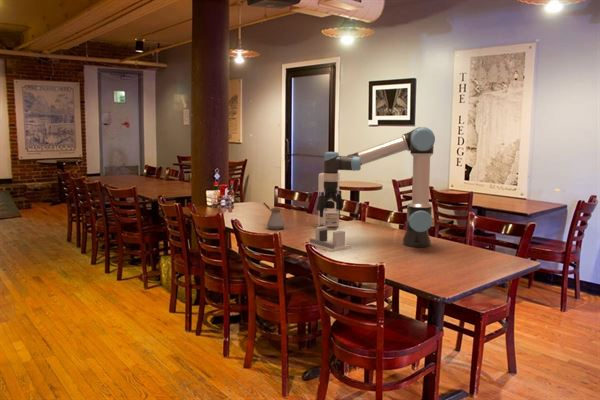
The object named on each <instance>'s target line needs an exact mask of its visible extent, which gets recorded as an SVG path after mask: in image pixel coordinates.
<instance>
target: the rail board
mask: <svg viewBox="0 0 600 400" xmlns="http://www.w3.org/2000/svg"><path fill="white" fill-rule="evenodd" d="M309 243H310V244H312V245H314V246H315V247H314V246H313V247H314V248H317V249H319V250H320V249H322V250H324V251H328V252H330V253H333V252H338V251H343V250H348V249H349V250H350V249H352V245H351V244H347V243H346V231H345V230H335V231H333V232H332V239H329V238H328V230H327V227H325V226H323V227H318V226H317V227H315V238H313V237H312V238H309V241H308V244H309Z"/></svg>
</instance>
